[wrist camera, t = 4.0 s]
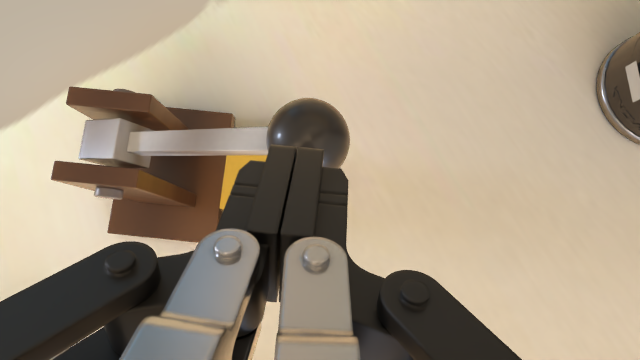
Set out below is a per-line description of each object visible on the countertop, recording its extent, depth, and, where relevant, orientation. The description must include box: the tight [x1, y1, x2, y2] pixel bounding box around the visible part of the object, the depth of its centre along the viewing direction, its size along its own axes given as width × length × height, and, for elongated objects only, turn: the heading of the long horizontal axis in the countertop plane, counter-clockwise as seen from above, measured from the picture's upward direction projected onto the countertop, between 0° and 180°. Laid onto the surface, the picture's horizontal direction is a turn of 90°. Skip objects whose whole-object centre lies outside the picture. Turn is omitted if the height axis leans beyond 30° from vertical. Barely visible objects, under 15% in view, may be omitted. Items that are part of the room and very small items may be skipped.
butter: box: [219, 155, 267, 210], centre depth 32 cm, size 5×8×5 cm, turn 174°
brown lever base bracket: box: [51, 87, 235, 242], centre depth 28 cm, size 8×10×12 cm
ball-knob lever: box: [79, 98, 350, 168], centre depth 22 cm, size 15×4×4 cm, turn 85°
